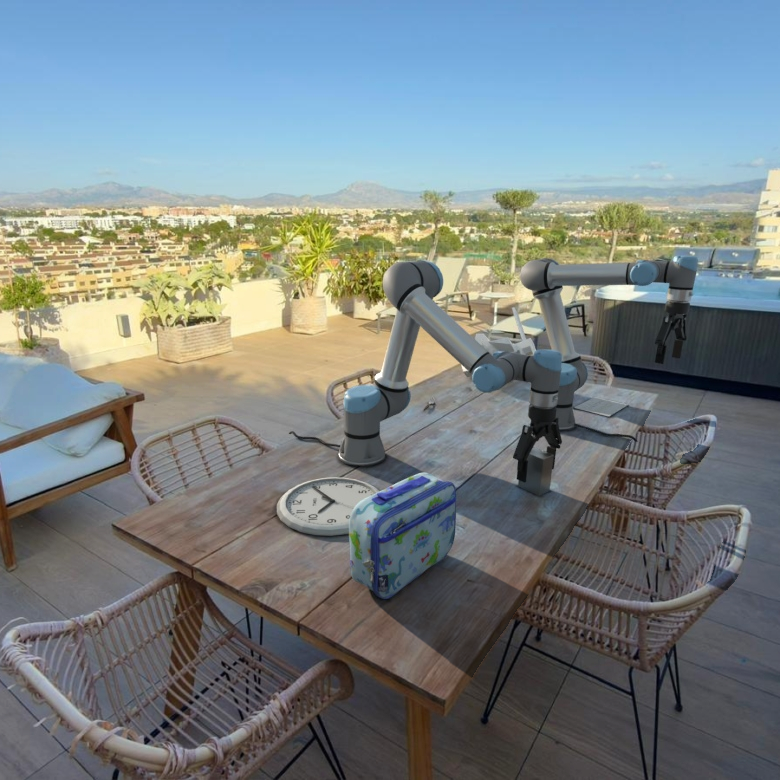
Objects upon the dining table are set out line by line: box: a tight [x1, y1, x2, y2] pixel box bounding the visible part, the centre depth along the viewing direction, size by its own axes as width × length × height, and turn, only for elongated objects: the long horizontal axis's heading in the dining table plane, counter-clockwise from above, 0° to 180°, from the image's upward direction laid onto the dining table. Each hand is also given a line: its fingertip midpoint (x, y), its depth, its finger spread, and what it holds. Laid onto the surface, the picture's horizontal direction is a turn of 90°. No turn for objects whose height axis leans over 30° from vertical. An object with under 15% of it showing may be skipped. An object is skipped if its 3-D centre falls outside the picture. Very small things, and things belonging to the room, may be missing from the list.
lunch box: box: [348, 471, 457, 600], centre depth 113 cm, size 26×11×21 cm, turn 134°
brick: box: [517, 446, 554, 497], centre depth 152 cm, size 8×5×12 cm
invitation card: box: [573, 396, 629, 418], centre depth 226 cm, size 21×1×15 cm
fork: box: [422, 395, 437, 412], centre depth 223 cm, size 3×16×2 cm, turn 160°
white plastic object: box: [460, 306, 537, 385], centre depth 259 cm, size 37×45×31 cm
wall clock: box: [276, 476, 381, 537], centre depth 142 cm, size 30×2×30 cm
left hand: (535, 474), depth 152 cm, fingers open, 13 cm apart
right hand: (667, 360), depth 189 cm, fingers open, 13 cm apart
